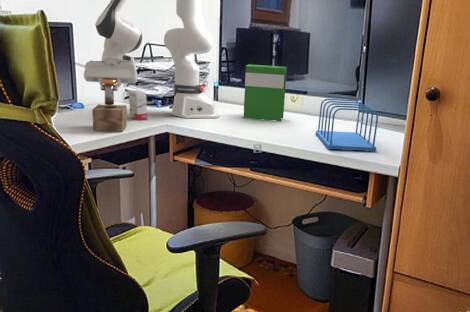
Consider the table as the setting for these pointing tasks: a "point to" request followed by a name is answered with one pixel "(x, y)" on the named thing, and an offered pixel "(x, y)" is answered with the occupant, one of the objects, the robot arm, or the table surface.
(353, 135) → the file sorter
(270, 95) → the green cereal box
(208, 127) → the table surface
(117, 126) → the block
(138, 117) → the ink box
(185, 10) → the robot arm
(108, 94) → the pin
